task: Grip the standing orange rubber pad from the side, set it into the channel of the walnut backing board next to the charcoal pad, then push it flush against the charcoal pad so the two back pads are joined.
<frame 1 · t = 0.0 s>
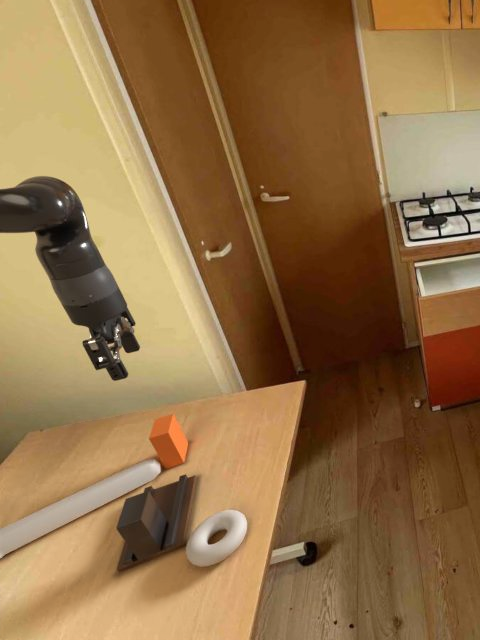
hand: (127, 364, 81), 32 cm above the table, tool pointing down, fingers open, 8 cm apart
tube: (90, 508, 88), on the table
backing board: (161, 521, 85), on the table
donut: (220, 542, 82), on the table
orange pad: (177, 455, 99), on the table
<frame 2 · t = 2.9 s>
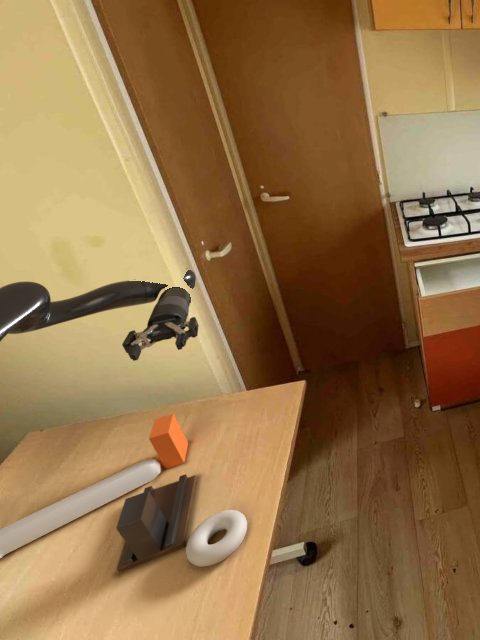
hand: (156, 352, 98), 22 cm above the table, tool horizontal, fingers open, 8 cm apart
nothing on the table moved.
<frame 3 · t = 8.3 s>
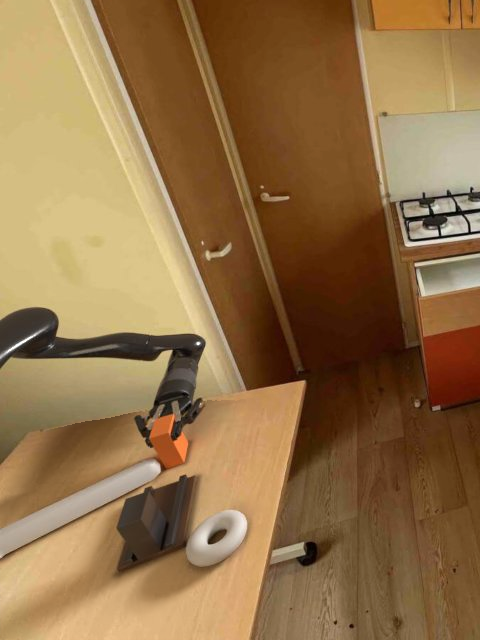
hand: (162, 441, 93), 8 cm above the table, tool horizontal, fingers closed on orange pad, 3 cm apart
orange pad: (177, 455, 99), on the table, touching gripper
everything else where it was.
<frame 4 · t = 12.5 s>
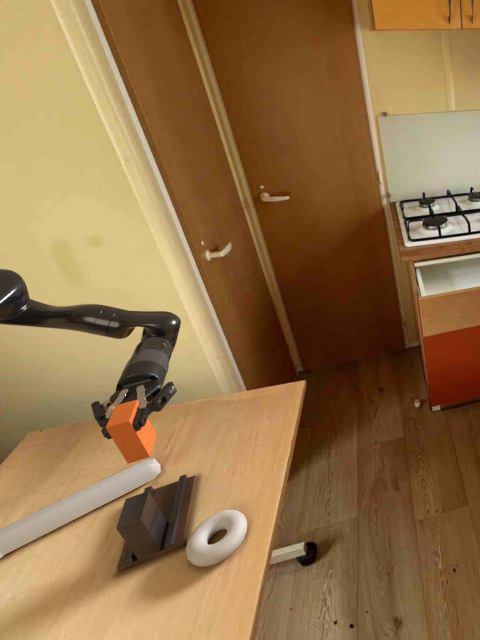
hand: (122, 431, 79), 22 cm above the table, tool horizontal, fingers closed on orange pad, 3 cm apart
orange pad: (142, 448, 84), point 14 cm above the table, touching gripper
everything else where it was.
when the fingers open (9 cm above the table, at t = 17.0 s): orange pad stays where it is, resting on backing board.
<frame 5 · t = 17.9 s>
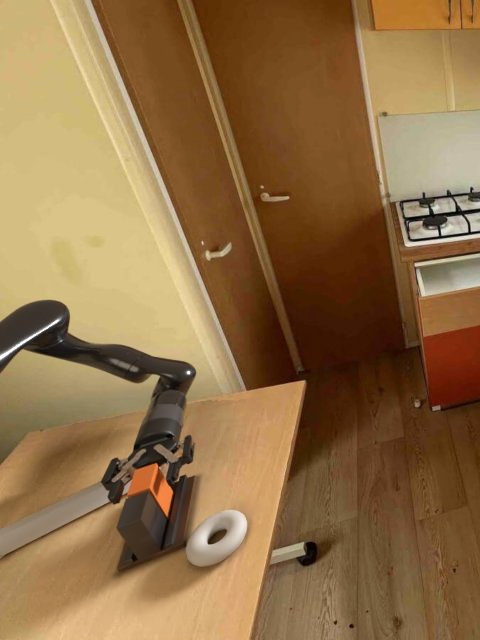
hand: (142, 491, 81), 10 cm above the table, tool horizontal, fingers open, 8 cm apart
orange pad: (161, 510, 86), point 1 cm above the table, touching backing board
everything else where it was.
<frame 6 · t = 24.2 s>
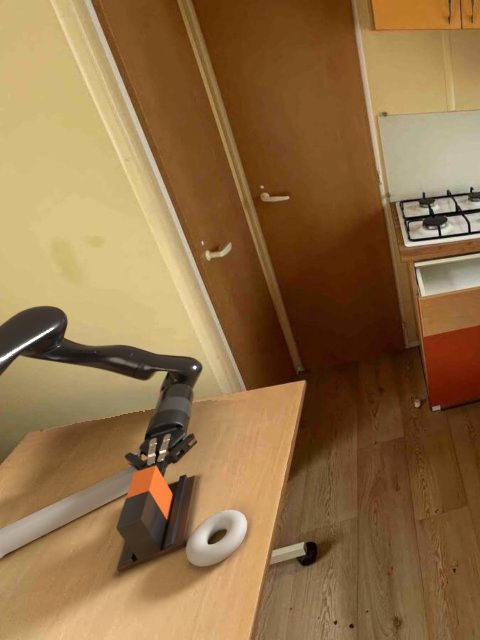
hand: (153, 481, 85), 7 cm above the table, tool horizontal, fingers closed
orange pad: (161, 512, 86), point 1 cm above the table, touching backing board, gripper
everything else where it was.
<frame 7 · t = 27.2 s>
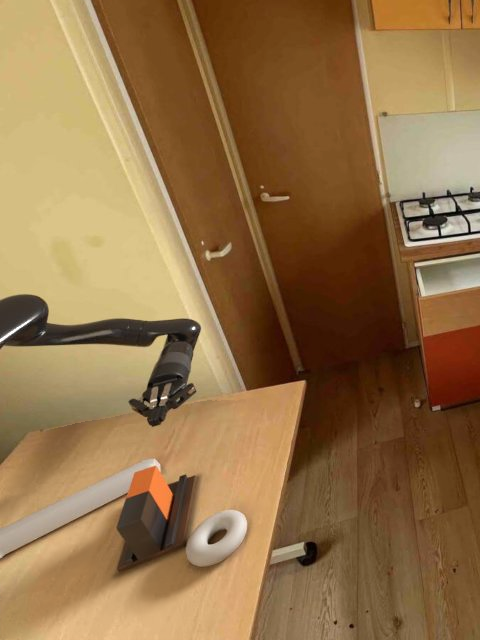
hand: (154, 423, 92), 13 cm above the table, tool horizontal, fingers closed
orange pad: (161, 513, 86), point 1 cm above the table, touching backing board
everything else where it was.
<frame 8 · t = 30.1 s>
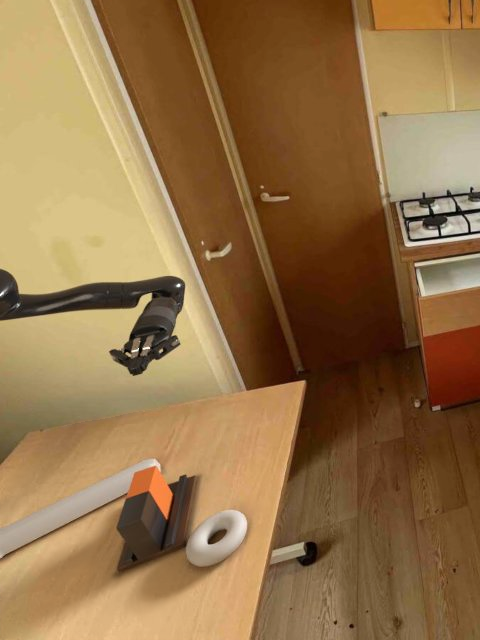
hand: (135, 371, 88), 25 cm above the table, tool horizontal, fingers closed
nothing on the table moved.
at the end: orange pad 0.0 cm from the target spot on the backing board, point 1.2 cm above the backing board's base; orange pad tilted 0°; the gripper is holding nothing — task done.
